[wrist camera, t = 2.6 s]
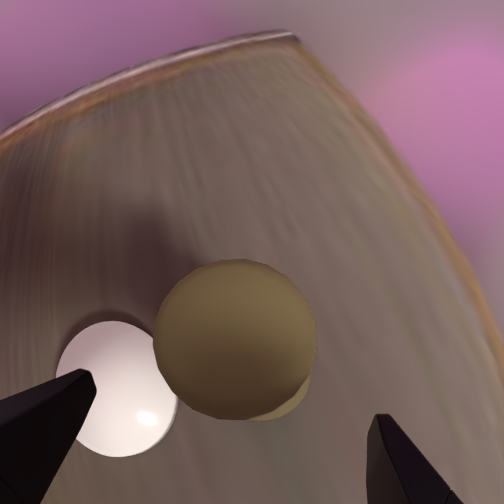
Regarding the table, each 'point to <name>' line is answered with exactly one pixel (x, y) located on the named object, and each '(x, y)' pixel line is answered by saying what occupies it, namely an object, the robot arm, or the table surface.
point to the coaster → (121, 389)
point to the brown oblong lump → (236, 341)
